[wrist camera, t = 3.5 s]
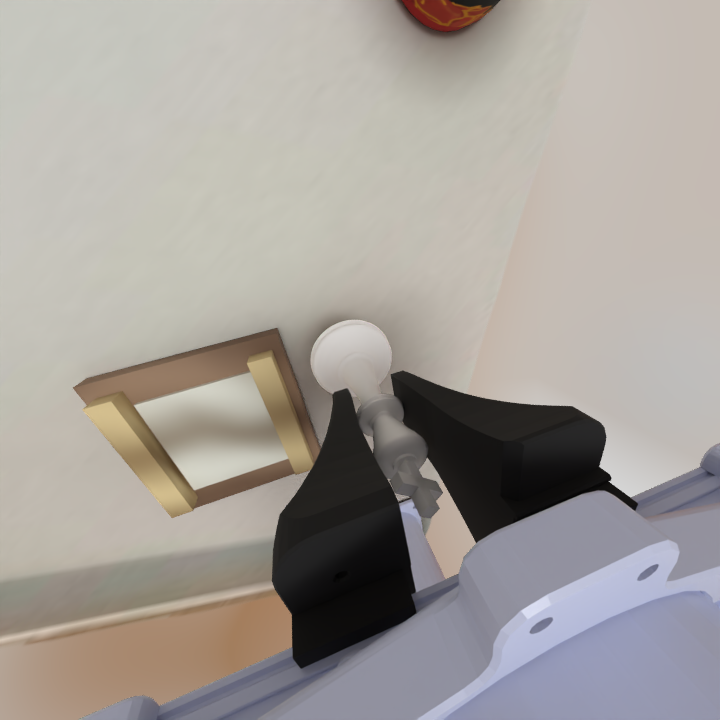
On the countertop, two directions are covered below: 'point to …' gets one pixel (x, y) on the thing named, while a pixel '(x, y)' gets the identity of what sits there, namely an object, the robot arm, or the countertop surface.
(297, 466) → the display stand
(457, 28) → the canned food
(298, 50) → the countertop surface
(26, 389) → the countertop surface
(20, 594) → the countertop surface
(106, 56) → the countertop surface
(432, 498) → the chess piece
